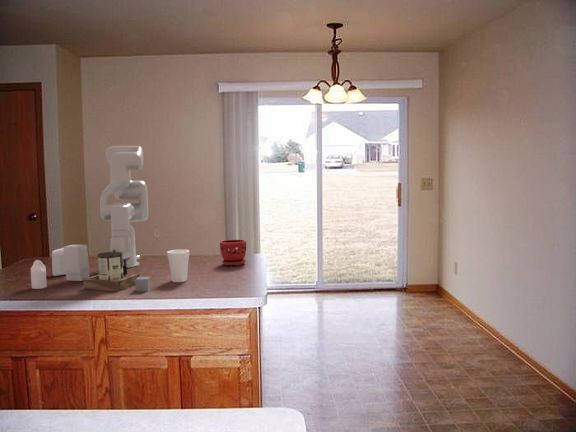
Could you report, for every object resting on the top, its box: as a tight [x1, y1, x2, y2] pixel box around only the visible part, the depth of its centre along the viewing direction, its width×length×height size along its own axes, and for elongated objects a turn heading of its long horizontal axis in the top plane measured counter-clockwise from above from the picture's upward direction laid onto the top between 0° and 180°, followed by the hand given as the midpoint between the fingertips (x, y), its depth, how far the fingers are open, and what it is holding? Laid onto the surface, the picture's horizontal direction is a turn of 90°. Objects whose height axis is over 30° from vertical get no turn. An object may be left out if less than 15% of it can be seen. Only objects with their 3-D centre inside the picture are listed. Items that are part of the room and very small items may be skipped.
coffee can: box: [96, 251, 125, 281], centre depth 246 cm, size 10×10×14 cm
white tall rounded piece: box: [30, 259, 48, 290], centre depth 246 cm, size 6×12×6 cm
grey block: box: [135, 276, 152, 292], centre depth 239 cm, size 5×5×5 cm
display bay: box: [82, 273, 141, 292], centre depth 247 cm, size 16×17×4 cm
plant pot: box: [219, 239, 247, 267], centre depth 289 cm, size 13×13×12 cm
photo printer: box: [51, 247, 66, 277], centre depth 272 cm, size 10×4×12 cm, turn 123°
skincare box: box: [63, 244, 91, 282], centre depth 260 cm, size 8×7×16 cm
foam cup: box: [166, 249, 190, 283], centre depth 254 cm, size 10×9×13 cm
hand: (122, 274), depth 254 cm, fingers closed
